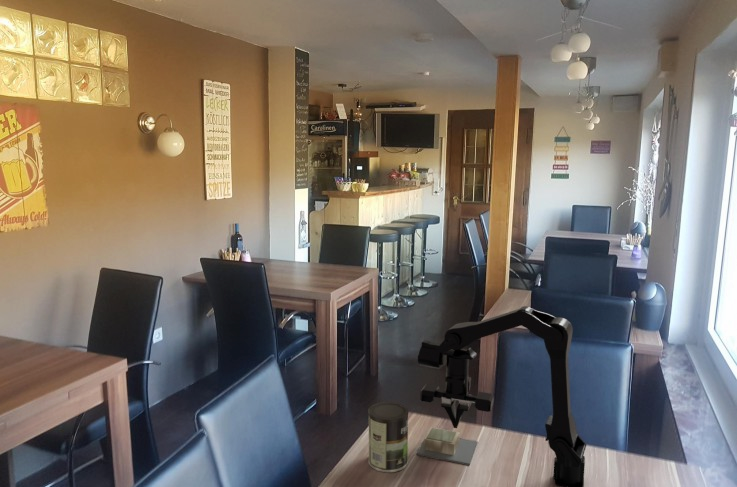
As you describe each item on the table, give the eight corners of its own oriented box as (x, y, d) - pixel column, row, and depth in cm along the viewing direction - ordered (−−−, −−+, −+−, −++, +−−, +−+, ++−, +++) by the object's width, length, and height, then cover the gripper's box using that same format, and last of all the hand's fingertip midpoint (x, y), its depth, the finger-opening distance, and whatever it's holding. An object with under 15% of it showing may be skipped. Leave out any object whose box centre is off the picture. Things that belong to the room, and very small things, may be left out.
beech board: (459, 431, 148) (431, 426, 151) (454, 443, 141) (424, 438, 144) (459, 442, 148) (431, 437, 151) (453, 455, 142) (424, 449, 145)
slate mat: (477, 443, 149) (477, 441, 149) (469, 465, 138) (469, 463, 138) (428, 434, 154) (428, 432, 154) (416, 454, 143) (416, 452, 143)
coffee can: (410, 453, 144) (410, 403, 142) (404, 475, 134) (405, 421, 132) (372, 449, 146) (372, 400, 144) (364, 470, 136) (364, 417, 134)
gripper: (497, 366, 146) (495, 420, 148) (430, 357, 153) (429, 409, 155) (491, 381, 136) (489, 439, 138) (419, 371, 143) (418, 426, 145)
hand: (455, 427), depth 144 cm, fingers closed
